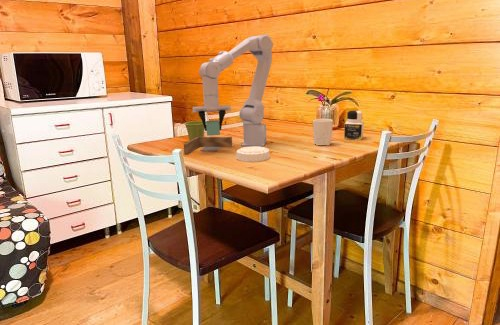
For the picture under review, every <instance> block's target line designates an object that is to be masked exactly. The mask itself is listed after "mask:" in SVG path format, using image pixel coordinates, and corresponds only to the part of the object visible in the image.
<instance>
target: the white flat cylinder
mask: <svg viewBox="0 0 500 325" xmlns="http://www.w3.org/2000/svg"><path fill="white" fill-rule="evenodd" d="M235 153H236V160H238V161H240V162H245V163H258V162H264V161H268V160H269V159H270V158H271V155H270V149H269V148H267V147H264V146H242V147H241V148H238V149H237V150H236V152H235Z"/></svg>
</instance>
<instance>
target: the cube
mask: <svg viewBox="0 0 500 325" xmlns="http://www.w3.org/2000/svg"><path fill="white" fill-rule="evenodd" d="M206 129H207V131H206V137H212V136H220V135H221V130H220V126H219V119H216V120H215V119H214V120H206Z"/></svg>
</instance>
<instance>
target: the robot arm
mask: <svg viewBox="0 0 500 325" xmlns="http://www.w3.org/2000/svg"><path fill="white" fill-rule="evenodd" d="M273 46H274V43H273V41H272V38H271V37H270V36H269V35H268V34H260V35H252V36H249V37H248V38H245V39H243V41H241V42H240V43H238V44H237V45H236V46H235V47H233V48H232V49H231V50H229V51H226V50H224V51H222V50H220V51H219V52H218V54H217V55H216V56H214V57H211V58H209V61H208V62H203V63H202V64H201V66H200V67H199V69H198V74H199V75H200V77H201V81H202V91H203V92H202V93H203V95H202V96H203V105H202V106H192V113H195V114H196V113H198V116H199V118H200V119H201V120H200V121H202V122H203V125H204V132H207V129H206V121H207V120H206V113H209V112H218V118H219V119H218V120H219V126H220V131H222V125H223V121H224V118H225V116H226V112H232V107H231V105H226V104H225V105H220V100H219V98H220V97H219V82H218V77H219V76H220V75H221V73H222V72H223V71H224V70H226V69H227V68H229V67H230V66H231V65H233V63H234V60H235V59H236V58H238V57H240V56H241V55H243V54H245V53H247V52H250V53H251V55H253V57H254V58H255V59H256V61H257V65H256V67H255V72H254V76H253V80H252V84H251V88H250V92H249V96H248V98H247V100H246V101H244V102H243V106H242V107H241V108H240V110H239V114H238V115H239V119H240V120H241V121H242V124H243V128H242V129H243V130H242V131H243V143H241V146H242V147H252V146H261V147H264V146H265V145H266V143H267V124H266V123H263V122H262V121H263V119H264V118H265V113H264V112H265V106H264V104H263V98H264V97H263V96H264V93H265V90H266V86H267V81H268V78H269V74H270V70H271V66H272V63H273V51H272V50H273Z"/></svg>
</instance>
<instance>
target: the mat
mask: <svg viewBox="0 0 500 325" xmlns="http://www.w3.org/2000/svg"><path fill="white" fill-rule="evenodd" d="M221 148H223V147H203V148H202V149H200V150H199V152H217V151H219V150H221Z"/></svg>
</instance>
